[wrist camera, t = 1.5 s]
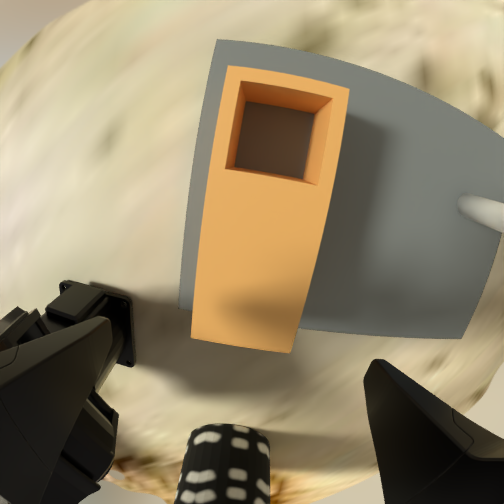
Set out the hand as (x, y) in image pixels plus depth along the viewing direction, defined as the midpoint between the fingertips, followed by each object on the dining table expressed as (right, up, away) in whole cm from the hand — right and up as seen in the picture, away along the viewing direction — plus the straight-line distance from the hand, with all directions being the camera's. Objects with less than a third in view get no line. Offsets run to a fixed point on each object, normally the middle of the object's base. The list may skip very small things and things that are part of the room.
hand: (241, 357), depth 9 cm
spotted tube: (-2, -16, +15) cm, 23 cm away
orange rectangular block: (+1, +6, +6) cm, 9 cm away
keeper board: (+8, +6, +8) cm, 13 cm away
